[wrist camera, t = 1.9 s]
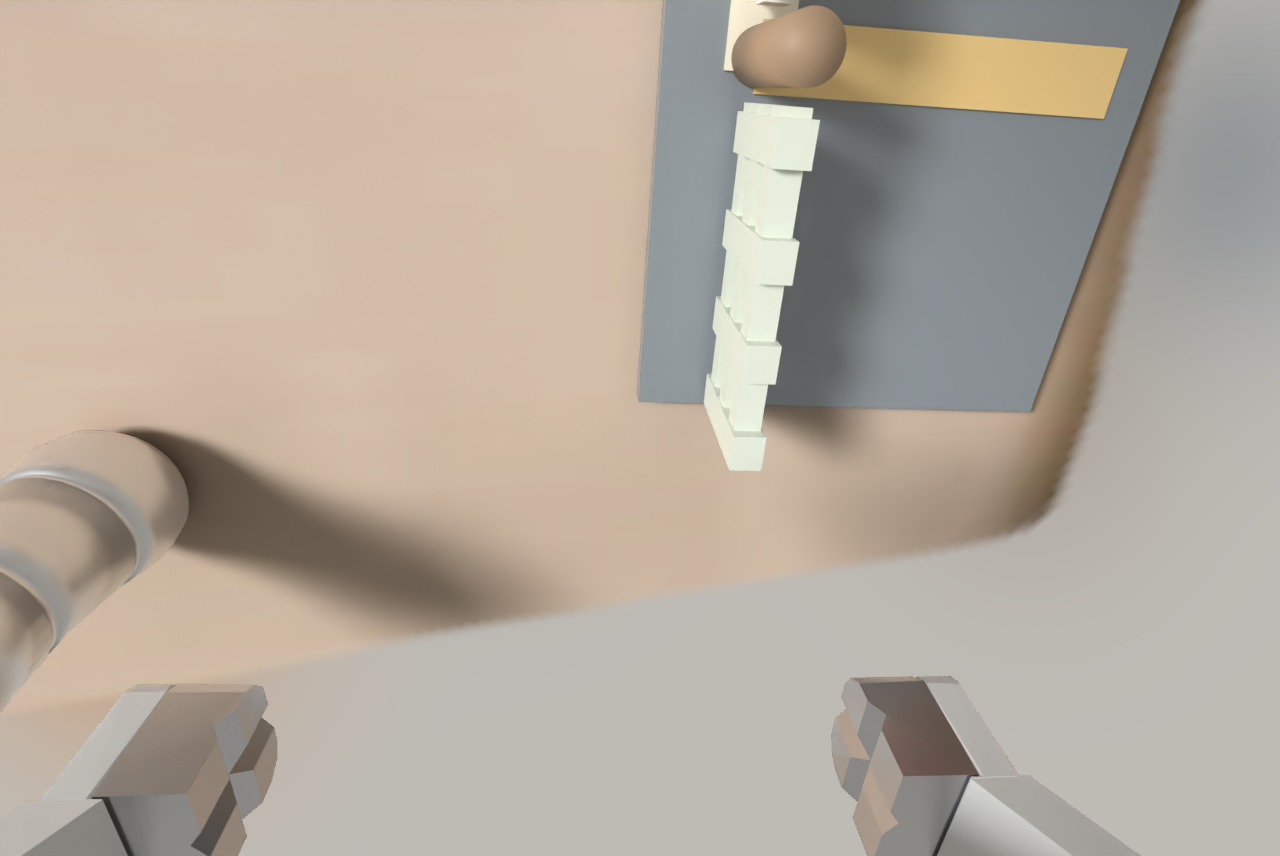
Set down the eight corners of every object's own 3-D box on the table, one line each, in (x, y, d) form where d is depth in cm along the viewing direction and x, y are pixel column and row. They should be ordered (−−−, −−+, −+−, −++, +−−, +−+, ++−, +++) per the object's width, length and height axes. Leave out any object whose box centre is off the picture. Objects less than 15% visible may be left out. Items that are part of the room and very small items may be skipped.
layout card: (698, -525, 18) (704, -560, 17) (1311, -427, 20) (1350, -455, 19) (637, 392, 31) (638, 403, 30) (1017, 403, 33) (1031, 413, 32)
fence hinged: (738, 101, 24) (781, 106, 19) (770, 104, 25) (822, 108, 19) (703, 402, 30) (729, 470, 25) (729, 402, 30) (760, 470, 25)
